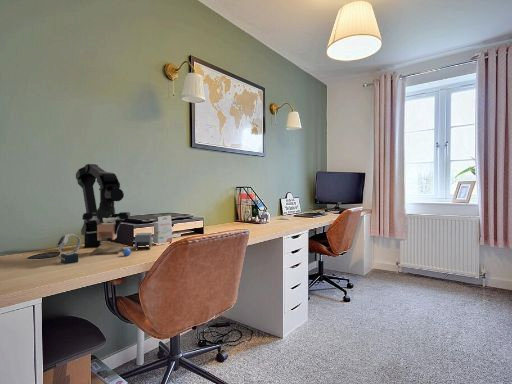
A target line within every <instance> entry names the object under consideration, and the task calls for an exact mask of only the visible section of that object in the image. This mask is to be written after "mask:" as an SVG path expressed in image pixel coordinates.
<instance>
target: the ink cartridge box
mask: <svg viewBox="0 0 512 384" xmlns="http://www.w3.org/2000/svg"><path fill="white" fill-rule="evenodd" d="M153 224H154V234H153V233H152V243H153V242H154V243H158V244H159V243H166V242H172V243H173V237H172V236H173V229H172V228H173V226H172V225H173V223H172V215H164V216H158V217H157V221H152V225H153Z"/></svg>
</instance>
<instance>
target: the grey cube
mask: <svg viewBox="0 0 512 384" xmlns="http://www.w3.org/2000/svg"><path fill="white" fill-rule="evenodd" d="M152 244H153V232H137V233H135V236H134V250H135V249H137V248H138V246H146V245H149V247H148V249H149V248H150V247H151V245H152ZM152 246H153V245H152ZM151 248H152V247H151ZM138 249H139V248H138ZM138 249H137V250H138Z"/></svg>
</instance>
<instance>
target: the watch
mask: <svg viewBox="0 0 512 384" xmlns="http://www.w3.org/2000/svg"><path fill="white" fill-rule="evenodd" d="M70 236H75V237H76V238H77V243H76V245H75V246H74V248H73V251H70V252H66V253H65V252H63V251H62V250H63V248H64V247H65V245H66V244H67V242H68V240H69V238H70ZM81 245H82V239H81V238H80V236H78V235H76V234H74V233H67V234H64V235H62V236H61V237H60V238H59V239H58V241H57V243H56V248H57V250H58V252H60V262H61V263H62V264H64V265H69V264H75V263H79V254H78V253H77V252H78V251H79V249H80V248H81Z"/></svg>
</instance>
